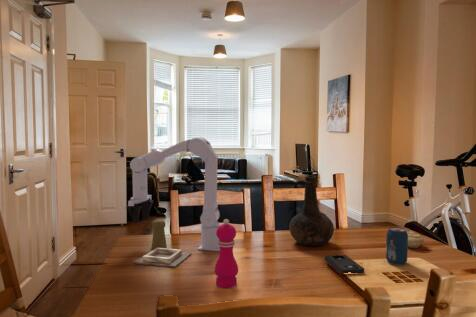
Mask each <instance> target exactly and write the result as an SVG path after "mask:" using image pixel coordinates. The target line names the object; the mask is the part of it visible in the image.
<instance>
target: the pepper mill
mask: <svg viewBox="0 0 476 317" xmlns="http://www.w3.org/2000/svg"><path fill="white" fill-rule="evenodd" d="M222 222H223V224H219V225H220V226H219V227H218V228H217V231H216V235H217V237H218V238H219V240H218V245H219V246H220V251H219V256H218V258H217V260H216V262H215V265H214V274H215V275H216V276H217V277H216V278H215V283H216V286H217V287H219V288H222V289H231V288H234V287H236V286H237V283H238V282H237V281H238V280H237V279H238V278H237V276H238V273H239V266H238V263H237V261H236V258H235V256H234V246H235V238H236V237H237V229H236V228H235V226H234V225H233V224H230V220H229V219H227V218H225V219H223V221H222Z"/></svg>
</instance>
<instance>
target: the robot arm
mask: <svg viewBox="0 0 476 317" xmlns="http://www.w3.org/2000/svg"><path fill="white" fill-rule="evenodd" d="M181 152H186V153H188V152H190V153H191V154H192V155H195V156H197V157H199V158H200V159H201V160H202V161H203V162H204V190H203V191H204V194H203V195H204V198H203V199H204V200H203V201H204V202H203V207H202V213H201V214H200V216H199V217H200V218H199V220H200V223H201V225H200V230H201V232H200V233H201V234H200V236H201V237H200V240H201V242H200V243H201V244H200V246H199V247H197V250H201V251H212V252H220V246H219V245H218V240H219V238H218V237H217V235H216V231H217V228H218V227H219V226H220V225H221V224H220V222H219V221H218V220H219V218H220V214H221V213H220V210H219V208H218V205H219V204H218V202H217V200H218V199H217V198H218V196H217V195H218V194H217V193H218V155H217V152H216V151H215V150H214V148H213V146H212V145H211V142H209V141H208V140H207V139H206V138H204V137H194V138H192V139H186V140H182V141H180V142H179V143H176V144H174V145H172V146H170V147H168V148H165V149H163V150H161V149H158V148H153V149H151V152H148V153H145V154H144V153H143V154H141V155H140V156H139V157H134V158H133V159H132V160H131V161H130V162H129V167H130V170H131V171H132V197H130V199H129V200H128V202H127V203H128V204H127V205H126V209H127V210H128V211H129V214H130V217H131V220H132V223H134V224H138V223H140V213H141V214H142V218H143V219H149V217H150V214H151V213H150V212H151V209H152V207H153V205H154V200H152V194H149V193H148V190H149V189H148V169H151V168H153V167H156V166H157V165H160V164H162V163H163V164H164V162H165V159H167V158H168V157H171V156H173V155H176V154H179V153H181ZM139 204H140V205H139Z"/></svg>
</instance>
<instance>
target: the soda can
mask: <svg viewBox="0 0 476 317" xmlns="http://www.w3.org/2000/svg"><path fill="white" fill-rule="evenodd" d="M406 231H407V229H406V228H404V227H397V226H390V227H388V230H387V231H386V237H385V238H386V242H385V243H386V245H385V259H386V261H387V263H388V264H391V265H393V266H404V265H406V263H407V262H408V251H409V250H408V248H409V247H408V234H407V232H406Z"/></svg>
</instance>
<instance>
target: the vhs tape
mask: <svg viewBox="0 0 476 317" xmlns="http://www.w3.org/2000/svg"><path fill="white" fill-rule="evenodd" d="M324 261H325V262H326V263H327V264H329V266H331V267H332V269H334V270H335V271H336V272H338V273H339V274H340V273H341V274H343V273H348V272H351V273H364V274H365V268H364V267H363V266H362V265H361V264H359V263H358V262H356V261H355V260H353V259H352V258H350V257H349V256H348V255H346V254H337V255H335V254H333V255H324ZM356 266H357V267H358V268H357V267H356ZM341 274H340V275H341Z"/></svg>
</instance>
